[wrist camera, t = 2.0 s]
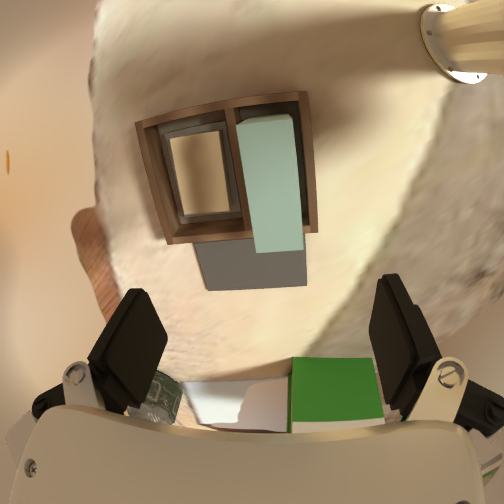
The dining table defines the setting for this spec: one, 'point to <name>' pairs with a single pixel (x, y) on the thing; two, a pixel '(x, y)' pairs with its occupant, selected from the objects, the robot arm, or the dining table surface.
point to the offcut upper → (202, 172)
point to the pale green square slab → (271, 181)
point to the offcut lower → (229, 160)
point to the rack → (240, 226)
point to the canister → (159, 401)
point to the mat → (249, 265)
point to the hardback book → (332, 395)
